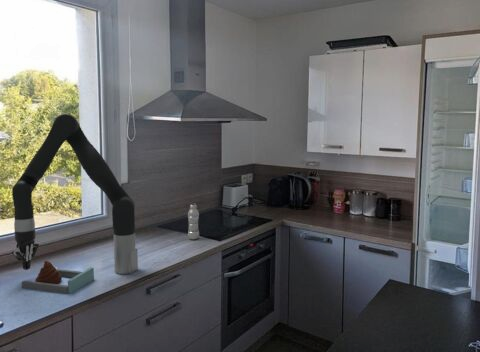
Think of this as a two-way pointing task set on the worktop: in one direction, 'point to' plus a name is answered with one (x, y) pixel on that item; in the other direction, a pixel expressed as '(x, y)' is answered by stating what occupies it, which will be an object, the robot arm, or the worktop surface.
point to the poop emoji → (48, 274)
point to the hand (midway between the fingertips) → (26, 269)
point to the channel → (74, 284)
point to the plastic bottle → (193, 222)
